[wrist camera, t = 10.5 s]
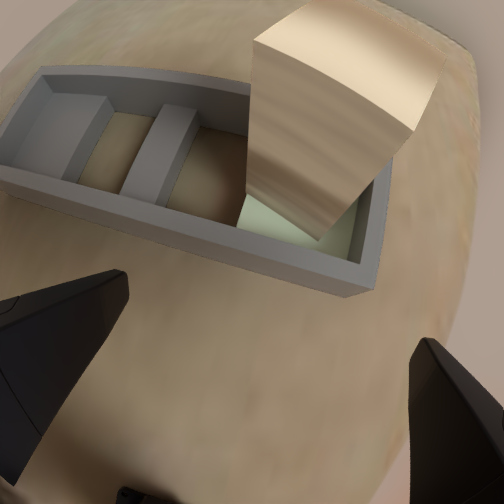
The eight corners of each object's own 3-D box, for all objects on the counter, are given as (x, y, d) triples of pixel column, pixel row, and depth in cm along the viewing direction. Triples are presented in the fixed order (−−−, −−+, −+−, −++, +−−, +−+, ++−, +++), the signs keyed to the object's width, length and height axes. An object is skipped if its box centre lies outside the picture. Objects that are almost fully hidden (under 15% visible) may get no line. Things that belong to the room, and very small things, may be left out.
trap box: (344, 297, 19) (373, 289, 14) (7, 194, 20) (-24, 172, 15) (369, 162, 21) (394, 129, 17) (61, 97, 22) (40, 66, 17)
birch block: (317, 241, 17) (414, 131, 7) (245, 192, 18) (253, 39, 7) (358, 179, 19) (447, 56, 8) (291, 135, 19) (330, -10, 8)
